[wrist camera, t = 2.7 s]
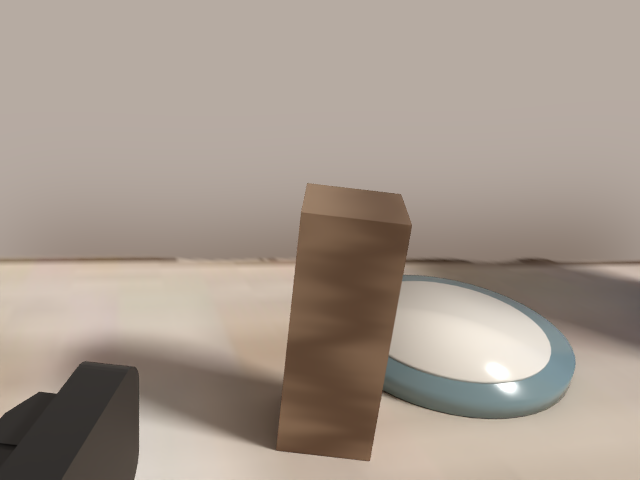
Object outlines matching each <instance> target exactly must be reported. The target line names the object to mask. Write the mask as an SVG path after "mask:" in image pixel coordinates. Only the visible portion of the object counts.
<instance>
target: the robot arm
mask: <svg viewBox="0 0 640 480" xmlns="http://www.w3.org/2000/svg"><path fill="white" fill-rule="evenodd" d="M138 456H139V375H138V371H137V369H136V368H135V367H131V366H122V365H113V364H104V363H95V362H87V361H85V362H82V363H81V364H80V365H79V366H78V367H77V369H76V370H75V371H74V372H73V374H72V375H71V376H70V378H69V379H68V380H67V382H66V383H65V384H64V385H63V387H62V388H61V389H60V391H59V392H58V393H57V394H54V393H45V392H38V393H37V394H35V395H34V396H32V397H30V398H29V399H27V400H25V401H24V402H22V403H21V404H19V405H17V406H16V407H14V408H13V409H11V410H9V411H8V412H6V413H5V414H4V415H3V416H2V417H1V418H0V480H134V478H135V474H136V469H137V464H138Z"/></svg>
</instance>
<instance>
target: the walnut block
mask: <svg viewBox="0 0 640 480" xmlns="http://www.w3.org/2000/svg"><path fill="white" fill-rule="evenodd" d="M411 228H412V224H411V221H410V218H409V215H408V213H407V210H406V207H405V204H404V201H403V199H402V196H401V194H394V193H386V192H378V191H369V190H361V189H352V188H344V187H334V186H326V185H318V184H309V183H307V187H306V192H305V196H304V201H303V206H302V211H301V219H300V228H299V238H298V247H297V256H296V266H295V275H294V285H293V294H292V304H291V313H290V323H289V332H288V342H287V351H286V361H285V370H284V380H283V389H282V399H281V408H280V418H279V427H278V437H277V446H276V450H277V451H286V452H295V453H304V454H313V455H321V456H330V457H339V458H348V459H356V460H365V461H370V457H371V451H372V446H373V440H374V434H375V429H376V423H377V418H378V412H379V407H380V401H381V395H382V390H383V384H384V379H385V373H386V368H387V362H388V356H389V351H390V345H391V340H392V334H393V328H394V323H395V317H396V312H397V306H398V301H399V295H400V289H401V284H402V278H403V273H404V267H405V262H406V256H407V250H408V245H409V239H410V234H411Z"/></svg>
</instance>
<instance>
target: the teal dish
mask: <svg viewBox="0 0 640 480" xmlns="http://www.w3.org/2000/svg"><path fill="white" fill-rule="evenodd" d="M574 369H575V355H574V352H573V350H572V347H571V346H570V344H569V342H568V341H567V339H566V338H565V337H564V335H563V334H562V333H561V332H560V331H559V330H558V329H557V328H556V327H555V326H554V325H553V324H552V323H550V322H549V321H548V320H546V319H545V318H544V317H542V316H541V315H539V314H538V313H536V312H535V311H533V310H532V309H530V308H528V307H526V306H524V305H523V304H521V303H519V302H517V301H515V300H513V299H510V298H508V297H506V296H503V295H501V294H499V293H496V292H493V291H490V290H488V289H485V288H481V287H478V286H475V285H471V284H467V283H463V282H459V281H455V280H449V279H444V278H437V277H430V276H419V275H403V278H402V284H401V289H400V295H399V301H398V306H397V312H396V317H395V323H394V328H393V334H392V340H391V345H390V351H389V356H388V362H387V368H386V373H385V379H384V384H383V391H385V392H387V393H389V394H391V395H393V396H395V397H398V398H400V399H403V400H405V401H408V402H410V403H413V404H415V405H419V406H422V407H425V408H428V409H431V410H435V411H440V412H444V413H448V414H453V415H459V416H466V417H474V418H487V419H498V418H514V417H523V416H527V415H531V414H535V413H538V412H541V411H543V410H546V409H548V408H550V407H551V406H553V405H555V404H556V403H558V402H559V401H560V400H561V399H562V398H563V397H564V396H565V394H566V392H567V390H568V388H569V385H570V382H571V379H572V376H573V373H574Z"/></svg>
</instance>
